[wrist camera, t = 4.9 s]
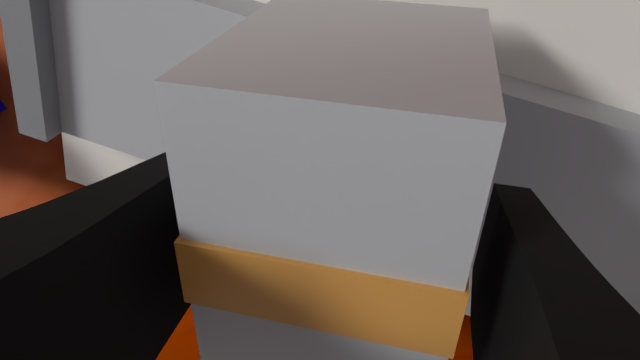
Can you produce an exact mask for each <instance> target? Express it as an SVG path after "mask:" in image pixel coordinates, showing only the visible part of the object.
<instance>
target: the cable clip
mask: <svg viewBox="0 0 640 360" xmlns="http://www.w3.org/2000/svg"><path fill="white" fill-rule="evenodd" d="M6 109H7V108H6V107H5V106H4V104H3V103H2V102H1V100H0V112H2V111H4V110H6Z"/></svg>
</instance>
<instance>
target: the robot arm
mask: <svg viewBox="0 0 640 360" xmlns="http://www.w3.org/2000/svg"><path fill="white" fill-rule="evenodd" d="M179 235H180V234H179V228H178V222H177V216H176V210H175V204H174V199H173V193H172V187H171V181H170V175H169V169H168V163H167V157H166V152H164V153H162V154H160V155H157V156H155V157H153V158H150V159H148V160H146V161H144V162H141V163H139V164H137V165H135V166H132V167H130V168H128V169H126V170H123V171H121V172H119V173H116V174H114V175H112V176H110V177H107V178H105V179H103V180H100V181H98V182H95V183H93V184H90V185H88V186H86V187H83V188H81V189H78V190H76V191H73V192H71V193H68V194H66V195H63V196H61V197H58V198H56V199H53V200H51V201H48V202H45V203H43V204H40V205H37V206H35V207H32V208H29V209H26V210H23V211H20V212H17V213H14V214H11V215H8V216H5V217H2V218H0V360H155V359H156V358H157V356H158V355H159V353H160V351H161V350H162V348H163V347H164V345H165V344H166V342H167V341H168V339H169V337H170V336H171V334H172V333H173V331H174V330H175V328H176V327H177V325H178V323H179V322H180V320H181V319H182V317H183V316H184V314H185V313H186V311H187V309H188V308H189V306H190V305H191V303H186V302H184V297H183V292H182V286H181V280H180V275H179V269H178V263H177V258H176V252H175V247H174V242H175V240H176V239H177V238H178V236H179ZM470 320H471V334H472V346H473V359H474V360H640V314H639V313H638V312H637V311H636V310H635V309H634V308H633V307H632V306H631V305H630V304H629V303H628V302H627V301H626V300H625V298H624V297H623V296H622V295H621V294H620V293H619V292H618V291H617V290H616V289H615V288H614V287H613V286H612V285H611V284H610V283H609V282H608V281H607V280H606V279H605V277H604V276H603V275H602V274H601V273H600V272H599V271H598V270H597V269H596V268H595V266H594V265H593V264H592V263H591V262H590V261H589V260H588V258H587V257H586V256H585V255H584V254H583V253H582V251H581V250H580V249H579V248H578V247H577V246H576V244H575V243H574V242H573V241H572V240H571V238H570V237H569V236H568V235H567V234H566V232H565V231H564V230H563V229H562V227H561V226H560V225H559V224H558V222H557V221H556V220H555V219H554V217H553V216H552V215H551V214H550V212H549V211H548V210H547V208H546V207H545V206H544V205H543V203H542V202H541V201H540V199H539V198H538V197H537V196H536V194H535V193H534V192H533V191H532V190H531V188H525V187H518V186H511V185H504V184H497V183H494V185H493V189H492V193H491V197H490V201H489V205H488V209H487V213H486V217H485V221H484V225H483V229H482V233H481V237H480V241H479V245H478V249H477V253H476V257H475V261H474V265H473V269H472V288H471V312H470Z"/></svg>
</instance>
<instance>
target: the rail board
mask: <svg viewBox="0 0 640 360" xmlns="http://www.w3.org/2000/svg"><path fill="white" fill-rule="evenodd" d="M269 1H271V0H0V17H1V23H2V29H3V36H4V42H5V48H6V55H7V61H8V67H9V73H10V80H11V86H12V92H13V99H14V105H15V111H16V117H17V124H18V130H19V133H20V134H23V135H26V136H29V137H32V138H35V139H38V140H41V141H44V142H48V141H49V140H51V139H52V138H54V137H55V136H57V135H58V134H60V133H62V142H63V152H64V162H65V171H66V179H67V180H70V181H73V182H76V183H79V184H82V185H85V186H88V185H90V184H93V183H95V182H98V181H100V180H103V179H105V178H107V177H110V176H112V175H114V174H116V173H119V172H121V171H123V170H126V169H128V168H130V167H132V166H135V165H137V164H139V163H141V162H144V161H146V160H148V159H150V158H153V157H155V156H157V155H160V154H162V153H164V152H166V151H165V145H164V139H163V133H162V127H161V121H160V115H159V109H158V104H157V98H156V92H155V86H154V80H155V79H157V78H158V77H160V76H161V75H163V74H164V73H166V72H167V71H169V70H170V69H172V68H173V67H174V66H176V65H177V64H179V63H180V62H182V61H183V60H185V59H186V58H188V57H189V56H191V55H192V54H193V53H195V52H196V51H198V50H199V49H201V48H202V47H204V46H205V45H207V44H208V43H210V42H211V41H212V40H214V39H215V38H217V37H218V36H220V35H221V34H223V33H224V32H226V31H227V30H229V29H230V28H231V27H233V26H234V25H236V24H237V23H239V22H240V21H242V20H243V19H245V18H246V17H247V16H249V15H250V14H252V13H253V12H255V11H256V10H258V9H259V8H261V7H262V6H264V5H265V4H266V3H268V2H269ZM381 1H394V2H407V3H420V4H433V5H445V6H458V7H471V8H484V9H488V11H489V18H490V24H491V30H492V36H493V42H494V48H495V55H496V61H497V67H498V73H499V79H500V85H501V92H502V98H503V104H504V110H505V116H506V122H507V124H506V128H505V132H504V136H503V140H502V144H501V148H500V152H499V156H498V160H497V164H496V168H495V172H494V176H493V180H492V184H491V188H490V192H489V196H488V200H487V204H486V208H485V212H484V216H483V220H482V224H481V228H480V232H479V236H478V240H477V244H476V248H475V252H474V256H473V260H472V265H471V269H470V273H469V299H468V303H467V307H466V311H465V315H468V316H470V312H471V288H472V269H473V265H474V261H475V257H476V253H477V249H478V245H479V241H480V237H481V233H482V229H483V225H484V221H485V217H486V213H487V209H488V205H489V201H490V197H491V193H492V189H493V185H494V183H497V184H504V185H511V186H518V187H525V188H531V190H532V191H533V192H534V193H535V194H536V196H537V197H538V198H539V199H540V201H541V202H542V203H543V205H544V206H545V207H546V208H547V210H548V211H549V212H550V214H551V215H552V216H553V217H554V219H555V220H556V221H557V222H558V224H559V225H560V226H561V227H562V229H563V230H564V231H565V232H566V234H567V235H568V236H569V237H570V238H571V240H572V241H573V242H574V243H575V244H576V246H577V247H578V248H579V249H580V250H581V251H582V253H583V254H584V255H585V256H586V257H587V258H588V260H589V261H590V262H591V263H592V264H593V265H594V266H595V268H596V269H597V270H598V271H599V272H600V273H601V274H602V275H603V276H604V277H605V279H606V280H607V281H608V282H609V283H610V284H611V285H612V286H613V287H614V288H615V289H616V290H617V291H618V292H619V293H620V294H621V295H622V296H623V297H624V298H625V300H626V301H627V302H628V303H629V304H630V305H631V306H632V307H633V308H634V309H635V310H636V311H637V312H638V313H639V314H640V0H381Z"/></svg>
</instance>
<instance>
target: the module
mask: <svg viewBox="0 0 640 360" xmlns="http://www.w3.org/2000/svg"><path fill="white" fill-rule="evenodd" d="M154 86H155V92H156V98H157V104H158V109H159V115H160V121H161V127H162V133H163V139H164V145H165V151H166V157H167V163H168V169H169V175H170V181H171V187H172V193H173V199H174V204H175V210H176V216H177V222H178V228H179V234H180V235H179V236H178V238H177V239H176V240H175V242H174V247H175V252H176V258H177V263H178V269H179V275H180V280H181V286H182V292H183V297H184V302H186V303H191V305H192V311H193V317H194V323H195V329H196V335H197V341H198V347H199V353H200V359H201V360H448V358H451V359H453V358H454V354H455V350H456V346H457V342H458V338H459V334H460V330H461V326H462V322H463V319H464V315H465V311H466V307H467V303H468V299H469V273H470V269H471V265H472V260H473V256H474V252H475V248H476V244H477V240H478V236H479V232H480V228H481V224H482V220H483V216H484V212H485V208H486V204H487V200H488V196H489V192H490V188H491V184H492V180H493V176H494V172H495V168H496V164H497V160H498V156H499V152H500V148H501V144H502V140H503V136H504V132H505V128H506V124H507V122H506V116H505V110H504V104H503V98H502V92H501V85H500V79H499V73H498V67H497V61H496V55H495V48H494V42H493V36H492V30H491V24H490V18H489V11H488V9H484V8H471V7H458V6H445V5H433V4H420V3H407V2H394V1H381V0H271V1H269V2H268V3H266V4H265V5H264V6H262V7H261V8H259V9H258V10H256V11H255V12H253V13H252V14H250V15H249V16H247V17H246V18H245V19H243V20H242V21H240V22H239V23H237V24H236V25H234V26H233V27H231V28H230V29H229V30H227V31H226V32H224V33H223V34H221V35H220V36H218V37H217V38H215V39H214V40H212V41H211V42H210V43H208V44H207V45H205V46H204V47H202V48H201V49H199V50H198V51H196V52H195V53H193V54H192V55H191V56H189V57H188V58H186V59H185V60H183V61H182V62H180V63H179V64H177V65H176V66H174V67H173V68H172V69H170V70H169V71H167V72H166V73H164V74H163V75H161V76H160V77H158V78H157V79H155V80H154Z"/></svg>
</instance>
